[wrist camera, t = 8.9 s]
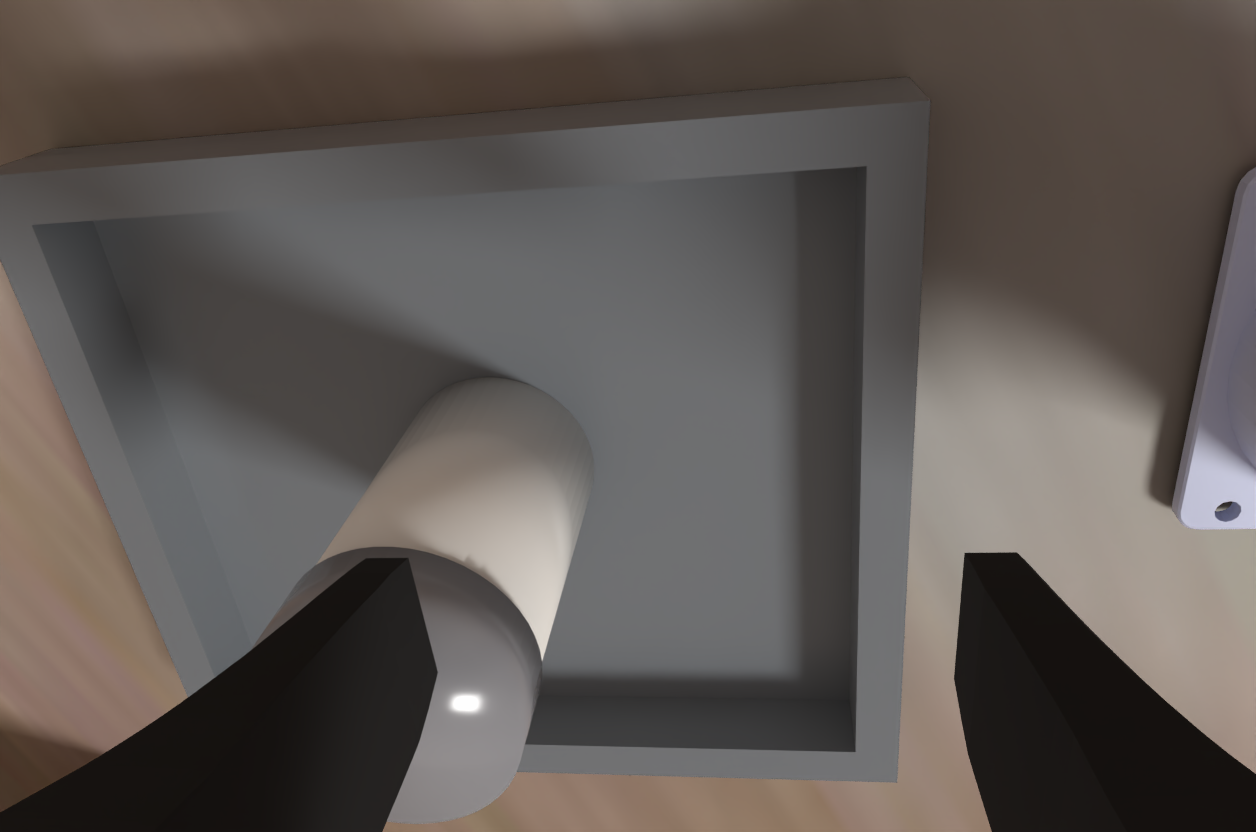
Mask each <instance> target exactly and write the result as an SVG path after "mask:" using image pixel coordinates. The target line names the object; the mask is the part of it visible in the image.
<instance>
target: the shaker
mask: <svg viewBox="0 0 1256 832" xmlns="http://www.w3.org/2000/svg"><path fill="white" fill-rule="evenodd" d="M593 480H594V460H593V454H592V450H591V447H590V444H589V441H588V439H587V437H586V434H585V433H584V431H583V429H582V428H581V426H580V424H579V423H578V422H577V420H576V419H575V418H574V417H573V415H572V414H571V413H570V412H569V411H568V410H567V409H566V408H565V407H564V406H563V405H562V404H560V403H559V402H558V401H556V400H555V399H554V398H553V397H551V396H549V395H548V394H546V393H544V392H543V391H541V390H539V389H537V388H535V387H532V386H530V385H528V384H524V383H521V382H518V381H514V380H510V379H505V378H494V377H484V378H474V379H467V380H464V381H460V382H457V383H454V384H452V385H450V386H448V387H445V388H444V389H442V390H441V391H439V392H438V393H436V394H435V395H434V396H432V397H431V398H430V399H429V400H428V401H427V402H426V403H425V404H424V406H423V407H422V408H421V409H420V411H419V412H418V414H417V415H416V417H415V418H414V420H413V421H412V423H411V424H410V426H409V427H408V429H407V430H406V432H405V433H404V435H403V436H402V438H401V439H400V441H399V442H398V444H397V445H396V447H395V448H394V450H393V451H392V453H391V454H390V455H389V457H388V458H387V460H386V461H385V463H384V464H383V466H382V467H381V469H380V470H379V472H378V473H377V475H376V476H375V478H374V479H373V481H372V482H371V484H370V485H369V487H368V488H367V490H366V491H365V493H364V494H363V496H362V497H361V499H360V500H359V502H358V503H357V505H356V506H355V508H354V509H353V511H352V512H351V514H350V515H349V517H348V518H347V519H346V521H345V522H344V524H343V525H342V527H341V528H340V530H339V531H338V533H337V534H336V536H335V537H334V539H333V540H332V542H331V543H330V545H329V546H328V548H327V549H326V551H325V552H324V554H323V555H322V557H321V558H320V560H319V561H318V563H317V564H316V565H315V566H314V567H313V568H311V569H310V570H309V571H308V572H307V573H305V574H304V575H303V576H302V578H301V579H300V580H299V581H298V582H297V583H296V585H295V586H294V587H293V589H292V590H291V592H290V593H289V595H288V596H287V598H286V599H285V601H284V602H283V604H282V605H281V607H280V608H279V609H278V611H277V612H276V614H275V615H274V617H273V618H272V620H271V621H270V623H269V624H268V626H267V627H266V629H265V630H264V631H263V633H262V634H261V636H260V637H259V639H258V640H257V642H256V643H255V645H254V646H253V648H254V647H256V646H257V645H258V644H259V643H261V642H262V641H263V640H264V639H265V638H267V637H268V636H269V635H270V634H272V633H273V632H274V631H275V630H277V629H278V628H279V627H280V626H282V625H283V624H284V623H285V622H286V621H288V620H289V619H290V618H291V617H293V616H294V615H295V614H296V613H298V612H299V611H300V610H301V609H302V608H304V607H305V606H306V605H307V604H308V603H310V602H311V601H312V600H313V599H315V598H316V597H317V596H318V595H319V594H321V593H322V592H323V591H324V590H325V589H327V588H328V587H329V586H330V585H332V584H333V583H334V582H335V581H337V580H338V579H339V578H340V577H342V576H343V575H344V574H345V573H347V572H348V571H349V570H350V569H352V568H353V567H354V566H356V565H357V564H359V563H360V562H361V561H363V560H364V559H365V558H409V562H410V566H411V570H412V574H413V577H414V581H415V585H416V589H417V593H418V597H419V601H420V605H421V609H422V612H423V616H424V620H425V624H426V628H427V632H428V636H429V640H430V644H431V647H432V651H433V655H434V659H435V663H436V667H437V671H438V674H437V678H436V682H435V686H434V690H433V694H432V698H431V702H430V706H429V710H428V713H427V717H426V720H425V724H424V727H423V731H422V734H421V738H420V741H419V744H418V747H417V749H416V752H415V754H414V757H413V759H412V762H411V764H410V766H409V769H408V771H407V774H406V776H405V779H404V781H403V783H402V786H401V788H400V791H399V793H398V796H397V798H396V800H395V803H394V805H393V807H392V810H391V812H390V815H389V817H388V819H387V821H388V822H395V823H408V824H425V823H437V822H444V821H450V820H453V819H457V818H461V817H464V816H467V815H469V814H472V813H474V812H477V811H479V810H480V809H482V808H484V807H485V806H487V805H489V804H490V803H492V802H493V801H494V800H495V799H497V798H498V797H499V796H500V795H501V794H502V793H503V792H504V791H505V790H506V788H507V787H508V786H509V785H510V783H511V781H512V780H513V778H514V776H515V774H516V772H517V769H518V766H519V763H520V760H521V756H522V753H523V749H524V746H525V742H526V739H527V735H528V731H529V728H530V724H531V721H532V717H533V713H534V710H535V706H536V703H537V699H538V695H539V692H540V688H541V682H542V660H543V657H544V653H545V650H546V646H547V643H548V639H549V636H550V632H551V629H552V625H553V622H554V618H555V615H556V611H557V608H558V604H559V601H560V597H561V594H562V590H563V587H564V584H565V580H566V577H567V573H568V570H569V566H570V563H571V559H572V556H573V552H574V549H575V545H576V542H577V538H578V535H579V531H580V528H581V524H582V521H583V517H584V514H585V510H586V507H587V503H588V500H589V496H590V493H591V489H592V485H593ZM253 648H252V649H253ZM252 649H251V650H252ZM251 650H250V651H251Z"/></svg>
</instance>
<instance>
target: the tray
mask: <svg viewBox="0 0 1256 832" xmlns="http://www.w3.org/2000/svg"><path fill="white" fill-rule="evenodd" d="M930 102H931V100H930V99H929V98H928V97H927V96H926V95H925V94H924V93H923V92H922V91H921V90H920V89H919V87H918V86H917V85H916V84H915V83H914V82H913V81H912V80H911V79H910V78H909V77H902V78H890V79H878V80H866V81H854V82H842V83H830V84H819V85H807V86H795V87H783V88H771V89H759V90H747V91H735V92H723V93H711V94H700V95H688V96H676V97H664V98H652V99H640V100H628V101H616V102H604V103H592V104H581V105H569V106H557V107H545V108H533V109H521V110H509V111H497V112H485V113H473V114H462V115H450V116H438V117H426V118H414V119H402V120H390V121H378V122H366V123H355V124H343V125H331V126H319V127H307V128H295V129H283V130H271V131H259V132H247V133H236V134H224V135H212V136H200V137H188V138H176V139H164V140H152V141H140V142H128V143H117V144H105V145H93V146H81V147H69V148H57V149H49V150H46V151H43V152H40V153H37V154H34V155H31V156H28V157H25V158H22V159H19V160H16V161H14V162H11V163H8V164H5V165H2V166H0V260H1V262H2V265H3V267H4V269H5V272H6V274H7V276H8V279H9V281H10V283H11V286H12V288H13V290H14V293H15V295H16V297H17V300H18V302H19V304H20V307H21V309H22V311H23V314H24V316H25V318H26V321H27V323H28V325H29V328H30V330H31V332H32V335H33V337H34V339H35V342H36V344H37V346H38V349H39V351H40V353H41V356H42V358H43V360H44V363H45V365H46V367H47V370H48V372H49V374H50V377H51V379H52V381H53V384H54V386H55V388H56V391H57V393H58V395H59V398H60V400H61V402H62V405H63V407H64V409H65V412H66V414H67V416H68V419H69V421H70V423H71V426H72V428H73V430H74V433H75V435H76V437H77V440H78V442H79V444H80V447H81V449H82V451H83V454H84V456H85V458H86V461H87V463H88V465H89V468H90V470H91V472H92V475H93V477H94V479H95V481H96V484H97V486H98V488H99V491H100V493H101V495H102V498H103V500H104V502H105V505H106V507H107V509H108V512H109V514H110V516H111V519H112V521H113V523H114V526H115V528H116V530H117V533H118V535H119V537H120V540H121V542H122V544H123V547H124V549H125V551H126V554H127V556H128V558H129V561H130V563H131V565H132V568H133V570H134V572H135V575H136V577H137V579H138V582H139V584H140V586H141V589H142V591H143V593H144V596H145V598H146V600H147V603H148V605H149V607H150V610H151V612H152V614H153V617H154V619H155V621H156V624H157V626H158V628H159V631H160V633H161V635H162V638H163V640H164V642H165V645H166V647H167V649H168V652H169V654H170V656H171V659H172V661H173V663H174V666H175V668H176V670H177V673H178V675H179V677H180V680H181V682H182V684H183V687H184V689H185V691H186V694H187V696H188V697H189V696H191V695H192V694H193V693H195V692H196V691H197V690H199V689H200V688H201V687H203V686H204V685H205V684H207V683H208V682H209V681H211V680H212V679H213V678H215V677H216V676H217V675H219V674H220V673H221V672H223V671H224V670H226V669H227V668H228V667H230V666H231V665H232V664H234V663H235V662H236V661H238V660H239V659H240V658H242V657H243V656H244V655H246V654H247V653H248V652H249V651H250V650H251V649H252V648H253V646H254V645H255V643H256V642H257V640H258V639H259V637H260V636H261V634H262V633H263V631H264V630H265V629H266V627H267V626H268V624H269V623H270V621H271V620H272V618H273V617H274V615H275V614H276V612H277V611H278V609H279V608H280V607H281V605H282V604H283V602H284V601H285V599H286V598H287V596H288V595H289V593H290V592H291V590H292V589H293V587H294V586H295V585H296V583H297V582H298V581H299V580H300V579H301V578H302V576H303V575H304V574H305V573H307V572H308V571H309V570H310V569H311V568H313V567H314V566H315V565H316V564H317V563H318V561H319V560H320V558H321V557H322V555H323V554H324V552H325V551H326V549H327V548H328V546H329V545H330V543H331V542H332V540H333V539H334V537H335V536H336V534H337V533H338V531H339V530H340V528H341V527H342V525H343V524H344V522H345V521H346V519H347V518H348V517H349V515H350V514H351V512H352V511H353V509H354V508H355V506H356V505H357V503H358V502H359V500H360V499H361V497H362V496H363V494H364V493H365V491H366V490H367V488H368V487H369V485H370V484H371V482H372V481H373V479H374V478H375V476H376V475H377V473H378V472H379V470H380V469H381V467H382V466H383V464H384V463H385V461H386V460H387V458H388V457H389V455H390V454H391V453H392V451H393V450H394V448H395V447H396V445H397V444H398V442H399V441H400V439H401V438H402V436H403V435H404V433H405V432H406V430H407V429H408V427H409V426H410V424H411V423H412V421H413V420H414V418H415V417H416V415H417V414H418V412H419V411H420V409H421V408H422V407H423V406H424V404H425V403H426V402H427V401H428V400H429V399H430V398H431V397H432V396H434V395H435V394H436V393H438V392H439V391H441V390H442V389H444V388H445V387H448V386H450V385H452V384H454V383H457V382H460V381H464V380H467V379H474V378H484V377H494V378H505V379H510V380H514V381H518V382H521V383H524V384H528V385H530V386H532V387H535V388H537V389H539V390H541V391H543V392H544V393H546V394H548V395H549V396H551V397H553V398H554V399H555V400H556V401H558V402H559V403H560V404H562V405H563V406H564V407H565V408H566V409H567V410H568V411H569V412H570V413H571V414H572V415H573V417H574V418H575V419H576V420H577V422H578V423H579V424H580V426H581V428H582V429H583V431H584V433H585V434H586V437H587V439H588V441H589V444H590V447H591V450H592V454H593V460H594V480H593V485H592V489H591V493H590V496H589V500H588V503H587V507H586V510H585V514H584V517H583V521H582V524H581V528H580V531H579V535H578V538H577V542H576V545H575V549H574V552H573V556H572V559H571V563H570V566H569V570H568V573H567V577H566V580H565V584H564V587H563V590H562V594H561V597H560V601H559V604H558V608H557V611H556V615H555V618H554V622H553V625H552V629H551V632H550V636H549V639H548V643H547V646H546V650H545V653H544V657H543V660H542V682H541V688H540V692H539V695H538V699H537V703H536V706H535V710H534V713H533V717H532V721H531V724H530V728H529V731H528V735H527V739H526V742H525V746H524V749H523V753H522V756H521V760H520V763H519V766H518V769H517V772H538V773H574V774H610V775H646V776H682V777H718V778H754V779H790V780H826V781H862V782H897V775H898V754H899V734H900V713H901V693H902V673H903V652H904V632H905V612H906V591H907V571H908V550H909V530H910V510H911V489H912V469H913V449H914V428H915V408H916V387H917V367H918V347H919V326H920V306H921V286H922V265H923V245H924V224H925V204H926V184H927V163H928V143H929V123H930Z"/></svg>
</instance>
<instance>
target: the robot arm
mask: <svg viewBox="0 0 1256 832" xmlns="http://www.w3.org/2000/svg"><path fill="white" fill-rule="evenodd" d="M1229 501H1232V504H1231V506H1230V507H1228V508H1227V509H1225V510H1223V511H1218V512H1217V511H1215V510H1216V508H1217V507H1218V506H1219V505H1221V504H1222V503H1224V502H1229ZM1172 511H1173V512H1174V514H1175V515H1176V517H1177V518H1178V519H1179V521H1180V522H1181V524H1182V525H1184V526H1186V527H1188V528H1191V529H1256V167H1255V168H1253V169H1252V170H1250V171H1248V173H1247V174H1246V175H1245V176H1244V177H1243V178H1242V179H1241V180H1240V182H1239V185H1238V187H1237V190H1236V193H1235V198H1234V203H1233V208H1232V213H1231V217H1230V222H1229V227H1228V232H1227V237H1226V242H1225V247H1224V252H1223V257H1222V262H1221V266H1220V271H1219V276H1218V281H1217V286H1216V291H1215V296H1214V301H1213V306H1212V311H1211V315H1210V320H1209V325H1208V330H1207V335H1206V340H1205V345H1204V350H1203V355H1202V360H1201V364H1200V369H1199V374H1198V379H1197V384H1196V389H1195V394H1194V399H1193V404H1192V409H1191V413H1190V418H1189V423H1188V428H1187V433H1186V438H1185V443H1184V448H1183V453H1182V457H1181V462H1180V467H1179V472H1178V477H1177V482H1176V487H1175V492H1174V497H1173V502H1172ZM437 674H438V671H437V667H436V663H435V659H434V655H433V651H432V647H431V644H430V640H429V636H428V632H427V628H426V624H425V620H424V616H423V612H422V609H421V605H420V601H419V597H418V593H417V589H416V585H415V581H414V577H413V574H412V570H411V566H410V562H409V558H365V559H364V560H363V561H361V562H360V563H359V564H357V565H356V566H354V567H353V568H352V569H350V570H349V571H348V572H347V573H345V574H344V575H343V576H342V577H340V578H339V579H338V580H337V581H335V582H334V583H333V584H332V585H330V586H329V587H328V588H327V589H325V590H324V591H323V592H322V593H321V594H319V595H318V596H317V597H316V598H315V599H313V600H312V601H311V602H310V603H308V604H307V605H306V606H305V607H304V608H302V609H301V610H300V611H299V612H298V613H296V614H295V615H294V616H293V617H291V618H290V619H289V620H288V621H286V622H285V623H284V624H283V625H282V626H280V627H279V628H278V629H277V630H275V631H274V632H273V633H272V634H270V635H269V636H268V637H267V638H265V639H264V640H263V641H262V642H261V643H259V644H258V645H257V646H256V647H254V648H253V649H252V650H251V651H249V652H248V653H247V654H246V655H244V656H243V657H242V658H240V659H239V660H238V661H236V662H235V663H234V664H232V665H231V666H230V667H228V668H227V669H226V670H224V671H223V672H221V673H220V674H219V675H217V676H216V677H215V678H213V679H212V680H211V681H209V682H208V683H207V684H205V685H204V686H203V687H201V688H200V689H199V690H197V691H196V692H195V693H193V694H192V695H191V696H189V697H188V698H187V699H185V700H184V701H183V702H181V703H180V704H179V705H177V706H176V707H174V708H173V709H171V710H170V711H169V712H167V713H166V714H164V715H163V716H161V717H160V718H158V719H157V720H155V721H154V722H152V723H151V724H149V725H148V726H146V727H145V728H143V729H142V730H140V731H139V732H137V733H136V734H134V735H133V736H131V737H129V738H128V739H126V740H125V741H123V742H122V743H120V744H118V745H117V746H115V747H114V748H112V749H111V750H109V751H107V752H106V753H104V754H103V755H101V756H99V757H98V758H96V759H94V760H93V761H91V762H89V763H88V764H86V765H85V766H83V767H81V768H79V769H77V770H76V771H74V772H72V773H70V774H68V775H67V776H65V777H63V778H61V779H60V780H58V781H56V782H54V783H52V784H51V785H49V786H47V787H45V788H43V789H42V790H40V791H38V792H36V793H35V794H33V795H31V796H29V797H27V798H26V799H24V800H22V801H20V802H18V803H17V804H15V805H13V806H11V807H10V808H8V809H6V810H4V811H2V812H0V832H382V831H383V829H384V826H385V824H386V822H387V819H388V817H389V815H390V812H391V810H392V807H393V805H394V803H395V800H396V798H397V796H398V793H399V791H400V788H401V786H402V783H403V781H404V779H405V776H406V774H407V771H408V769H409V766H410V764H411V762H412V759H413V757H414V754H415V752H416V749H417V747H418V744H419V741H420V738H421V734H422V731H423V727H424V724H425V720H426V717H427V713H428V710H429V706H430V702H431V698H432V694H433V690H434V686H435V682H436V678H437ZM954 680H955V686H956V691H957V697H958V703H959V708H960V714H961V720H962V725H963V730H964V735H965V741H966V746H967V751H968V755H969V759H970V762H971V765H972V769H973V772H974V775H975V779H976V782H977V785H978V788H979V792H980V795H981V798H982V801H983V804H984V808H985V811H986V814H987V817H988V821H989V824H990V827H991V830H992V832H1256V774H1255V773H1254V772H1252V771H1251V770H1250V769H1248V768H1247V767H1246V766H1244V765H1243V764H1242V763H1240V762H1239V761H1238V760H1236V759H1235V758H1234V757H1232V756H1231V755H1230V754H1228V753H1227V752H1226V751H1225V750H1223V749H1222V748H1221V747H1220V746H1218V745H1217V744H1216V743H1215V742H1213V741H1212V740H1211V739H1210V738H1208V737H1207V736H1206V735H1205V734H1203V733H1202V732H1201V731H1200V730H1199V729H1197V728H1196V727H1195V726H1194V725H1193V724H1192V723H1190V722H1189V721H1188V720H1187V719H1186V718H1185V717H1183V716H1182V715H1181V714H1180V713H1179V712H1178V711H1177V710H1175V709H1174V708H1173V707H1172V706H1171V705H1170V704H1168V703H1167V702H1166V701H1165V700H1164V699H1163V698H1162V697H1161V696H1159V695H1158V694H1157V693H1156V692H1155V691H1154V690H1153V689H1152V688H1151V687H1150V686H1149V685H1147V684H1146V683H1145V682H1144V681H1143V680H1142V679H1141V678H1140V677H1139V676H1138V675H1137V674H1136V673H1135V672H1134V671H1133V670H1132V669H1131V668H1130V667H1128V666H1127V665H1126V664H1125V663H1124V662H1123V661H1122V660H1121V659H1120V658H1119V657H1118V656H1117V655H1116V654H1115V653H1114V652H1113V651H1112V650H1111V649H1110V648H1109V647H1108V646H1107V645H1106V644H1105V643H1104V642H1103V641H1102V640H1101V639H1100V638H1099V637H1098V636H1097V635H1096V634H1095V633H1094V632H1093V631H1092V630H1091V629H1090V628H1089V627H1088V626H1087V625H1086V624H1085V623H1084V622H1083V621H1082V620H1081V619H1080V618H1079V617H1078V616H1077V615H1076V614H1075V613H1074V612H1073V611H1072V610H1071V609H1070V608H1069V607H1068V606H1067V605H1066V604H1065V602H1064V601H1063V600H1062V599H1061V598H1060V597H1059V596H1058V595H1057V594H1056V593H1055V592H1054V591H1053V590H1052V589H1051V588H1050V586H1049V585H1048V584H1047V583H1046V582H1045V581H1044V580H1043V579H1042V578H1041V577H1040V576H1039V575H1038V574H1037V573H1036V571H1035V570H1034V569H1033V568H1032V567H1031V566H1030V565H1029V564H1028V563H1027V562H1026V561H1025V560H1024V559H1023V558H1022V557H1021V556H1020V555H1019V554H1018V553H965V555H964V567H963V579H962V591H961V603H960V615H959V627H958V639H957V651H956V663H955V675H954Z"/></svg>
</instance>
